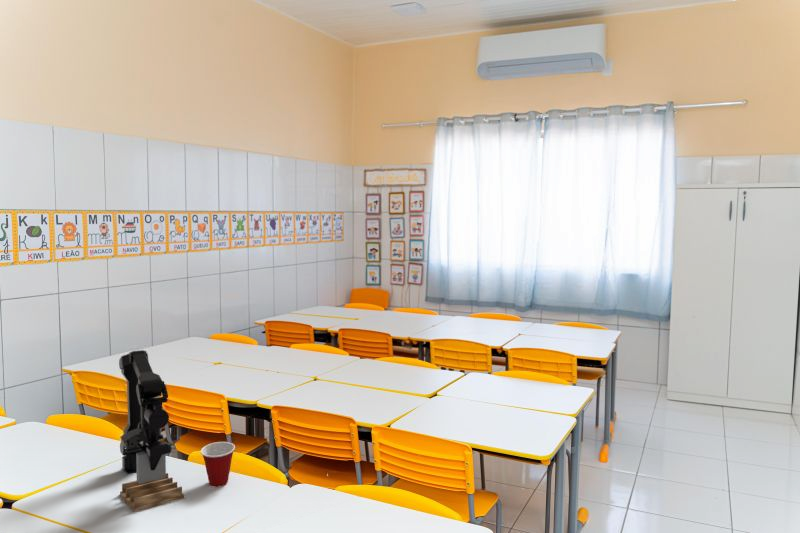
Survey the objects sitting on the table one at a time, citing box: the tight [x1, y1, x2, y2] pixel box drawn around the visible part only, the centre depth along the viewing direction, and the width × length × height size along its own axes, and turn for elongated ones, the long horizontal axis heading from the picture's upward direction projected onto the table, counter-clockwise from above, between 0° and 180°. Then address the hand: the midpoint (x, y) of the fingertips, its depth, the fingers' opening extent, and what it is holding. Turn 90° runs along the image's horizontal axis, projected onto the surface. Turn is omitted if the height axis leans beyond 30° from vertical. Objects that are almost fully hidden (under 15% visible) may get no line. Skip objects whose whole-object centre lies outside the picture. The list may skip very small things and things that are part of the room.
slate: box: [136, 451, 167, 484], centre depth 192 cm, size 8×2×9 cm, turn 129°
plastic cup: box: [200, 441, 236, 488], centre depth 203 cm, size 11×11×12 cm
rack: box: [119, 472, 185, 513], centre depth 193 cm, size 15×14×4 cm
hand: (151, 468), depth 192 cm, fingers closed on slate, 2 cm apart
